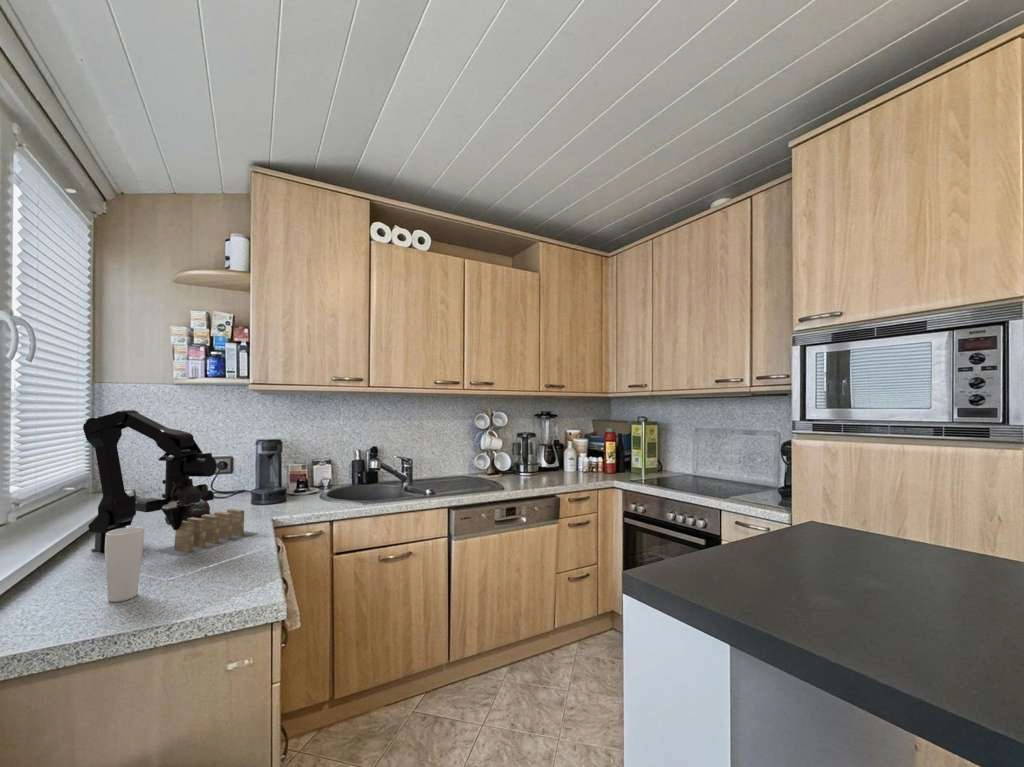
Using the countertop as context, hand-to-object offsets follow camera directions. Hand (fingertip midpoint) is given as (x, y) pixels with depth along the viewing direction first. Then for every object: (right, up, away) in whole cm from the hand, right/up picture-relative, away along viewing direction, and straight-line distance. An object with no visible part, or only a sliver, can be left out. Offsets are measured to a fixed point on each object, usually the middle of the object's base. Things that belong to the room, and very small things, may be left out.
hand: (176, 529), depth 137 cm
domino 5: (+7, -7, +17) cm, 20 cm away
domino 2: (+2, -6, +5) cm, 9 cm away
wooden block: (+6, -7, +13) cm, 16 cm away
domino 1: (+1, -6, +1) cm, 6 cm away
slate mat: (+4, -7, +9) cm, 12 cm away
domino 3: (+4, -7, +9) cm, 12 cm away
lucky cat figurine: (-23, -8, +37) cm, 44 cm away
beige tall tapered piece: (+10, -6, -31) cm, 33 cm away
